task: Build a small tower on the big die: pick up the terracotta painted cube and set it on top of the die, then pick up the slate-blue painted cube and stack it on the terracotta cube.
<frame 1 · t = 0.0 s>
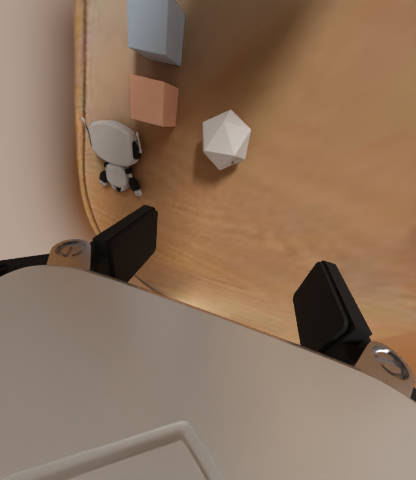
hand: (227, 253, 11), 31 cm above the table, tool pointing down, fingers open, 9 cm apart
robot toy: (124, 158, 43), on the table
terracotta block: (162, 105, 35), on the table
slate block: (166, 38, 30), on the table
die: (228, 140, 36), on the table
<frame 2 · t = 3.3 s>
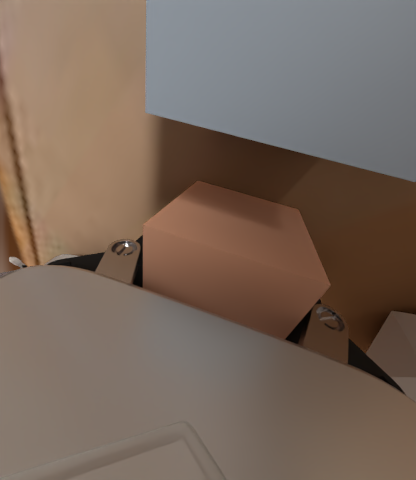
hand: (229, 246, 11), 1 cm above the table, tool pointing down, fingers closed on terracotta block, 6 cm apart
terracotta block: (232, 236, 12), on the table, touching gripper
slate block: (295, 50, 7), on the table
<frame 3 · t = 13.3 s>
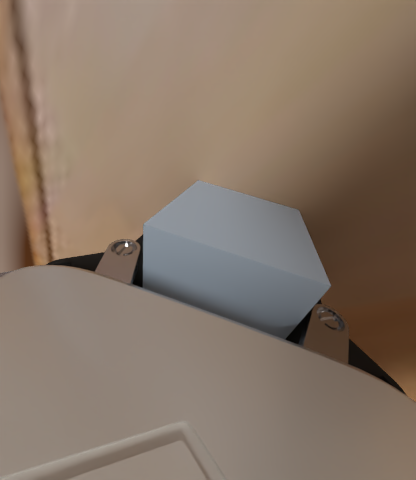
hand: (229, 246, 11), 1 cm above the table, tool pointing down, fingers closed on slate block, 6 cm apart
slate block: (232, 236, 12), on the table, touching gripper
when the fingers open (16 cm above the table, at t = 19.2 s): slate block drops 2 cm, resting on terracotta block.
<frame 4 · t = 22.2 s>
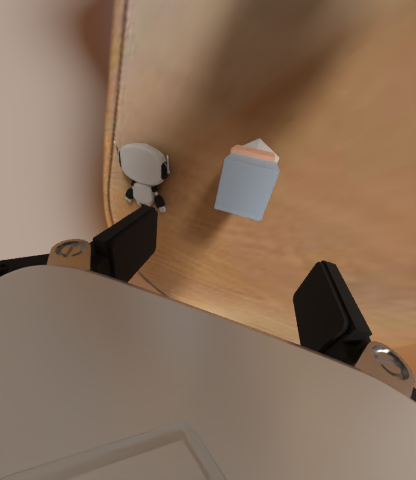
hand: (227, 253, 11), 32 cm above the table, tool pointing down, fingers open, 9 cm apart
robot toy: (150, 176, 45), on the table
terracotta block: (249, 168, 31), point 8 cm above the table, touching die, slate block
slate block: (247, 179, 26), point 14 cm above the table, touching terracotta block
die: (253, 163, 38), on the table, touching terracotta block
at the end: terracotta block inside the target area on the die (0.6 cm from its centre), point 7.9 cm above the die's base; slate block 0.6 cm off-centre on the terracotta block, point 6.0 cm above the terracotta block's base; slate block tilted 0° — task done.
